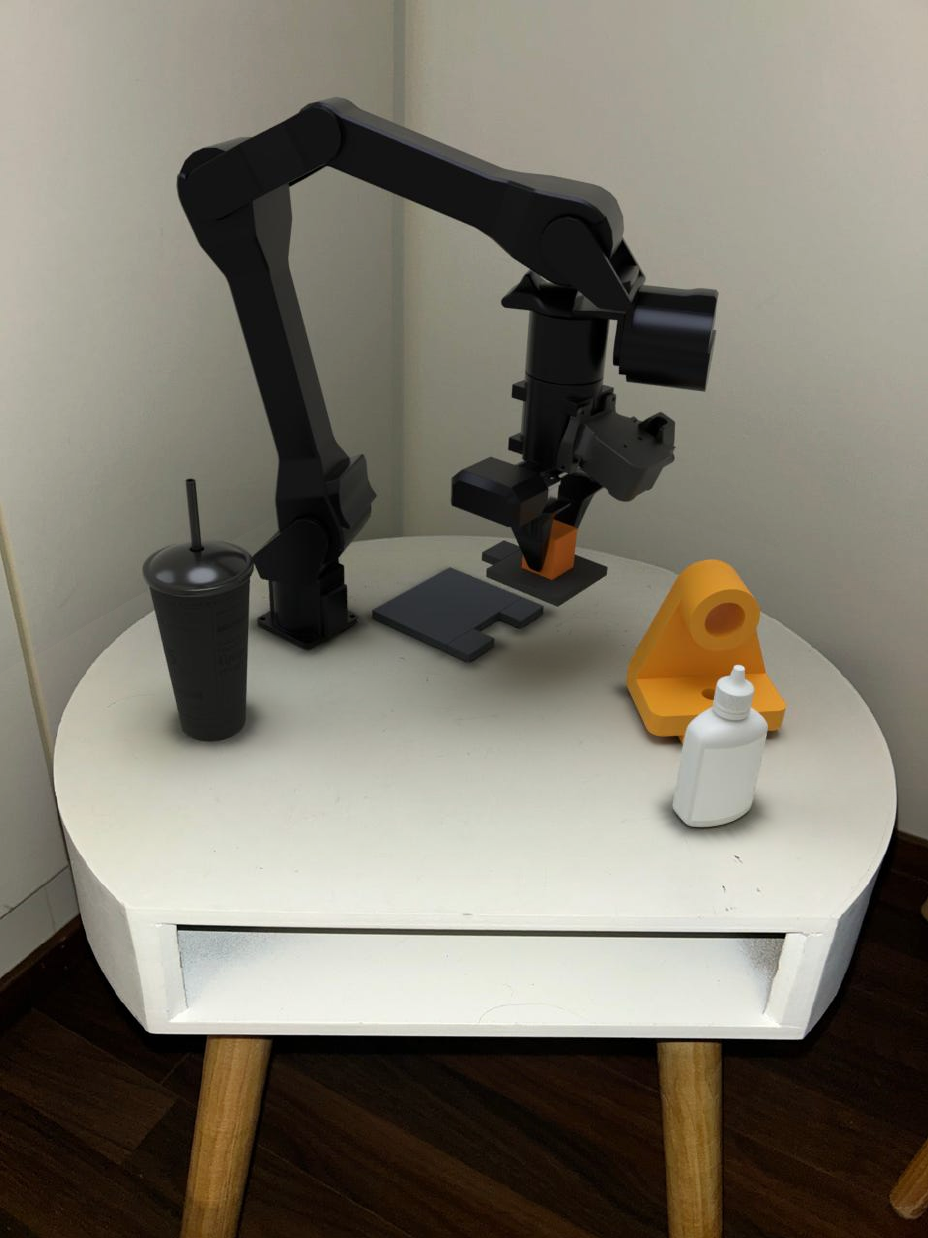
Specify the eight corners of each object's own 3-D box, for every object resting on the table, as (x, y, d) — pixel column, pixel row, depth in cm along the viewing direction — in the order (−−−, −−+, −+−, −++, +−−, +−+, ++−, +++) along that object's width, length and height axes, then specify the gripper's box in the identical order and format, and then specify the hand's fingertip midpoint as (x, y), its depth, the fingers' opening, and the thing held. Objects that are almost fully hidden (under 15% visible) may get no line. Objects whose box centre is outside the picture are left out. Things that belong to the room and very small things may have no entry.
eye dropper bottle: (755, 835, 76) (788, 690, 70) (672, 827, 76) (698, 682, 70) (747, 794, 79) (778, 653, 73) (669, 786, 80) (693, 646, 74)
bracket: (649, 745, 84) (670, 609, 78) (624, 691, 90) (642, 561, 84) (783, 738, 85) (814, 604, 79) (750, 685, 91) (777, 557, 85)
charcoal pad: (371, 617, 99) (371, 610, 98) (449, 574, 106) (449, 566, 106) (468, 662, 93) (469, 654, 92) (543, 613, 100) (544, 605, 100)
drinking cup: (215, 682, 89) (194, 449, 79) (285, 717, 85) (271, 477, 75) (140, 726, 84) (106, 482, 73) (211, 765, 80) (186, 515, 70)
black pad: (466, 569, 89) (468, 520, 87) (517, 540, 94) (520, 494, 92) (557, 607, 84) (562, 557, 82) (607, 575, 89) (613, 527, 87)
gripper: (586, 436, 69) (564, 645, 77) (724, 369, 82) (693, 555, 90) (449, 392, 75) (442, 592, 83) (598, 336, 88) (580, 514, 96)
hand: (547, 562), depth 88 cm, fingers closed on black pad, 3 cm apart
